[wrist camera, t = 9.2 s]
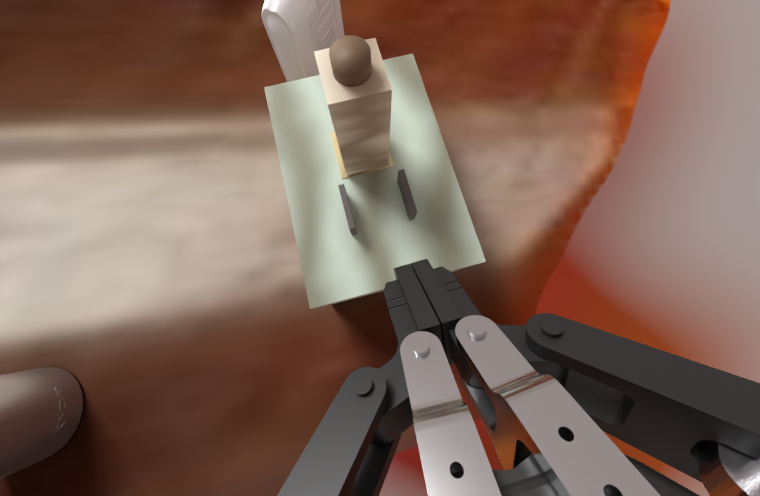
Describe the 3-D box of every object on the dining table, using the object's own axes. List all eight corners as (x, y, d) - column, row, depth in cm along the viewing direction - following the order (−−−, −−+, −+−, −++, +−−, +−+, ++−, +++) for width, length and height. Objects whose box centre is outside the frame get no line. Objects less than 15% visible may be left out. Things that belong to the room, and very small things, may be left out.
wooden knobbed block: (346, 175, 25) (323, 89, 15) (336, 137, 26) (308, 32, 16) (388, 164, 25) (392, 73, 15) (377, 128, 26) (374, 18, 16)
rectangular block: (329, 308, 31) (303, 309, 21) (291, 138, 36) (255, 70, 26) (458, 273, 32) (495, 257, 22) (405, 110, 37) (414, 34, 26)
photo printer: (324, 41, 39) (299, -77, 27) (351, 52, 39) (337, -63, 27) (288, 97, 37) (243, -4, 25) (315, 109, 37) (283, 13, 25)
